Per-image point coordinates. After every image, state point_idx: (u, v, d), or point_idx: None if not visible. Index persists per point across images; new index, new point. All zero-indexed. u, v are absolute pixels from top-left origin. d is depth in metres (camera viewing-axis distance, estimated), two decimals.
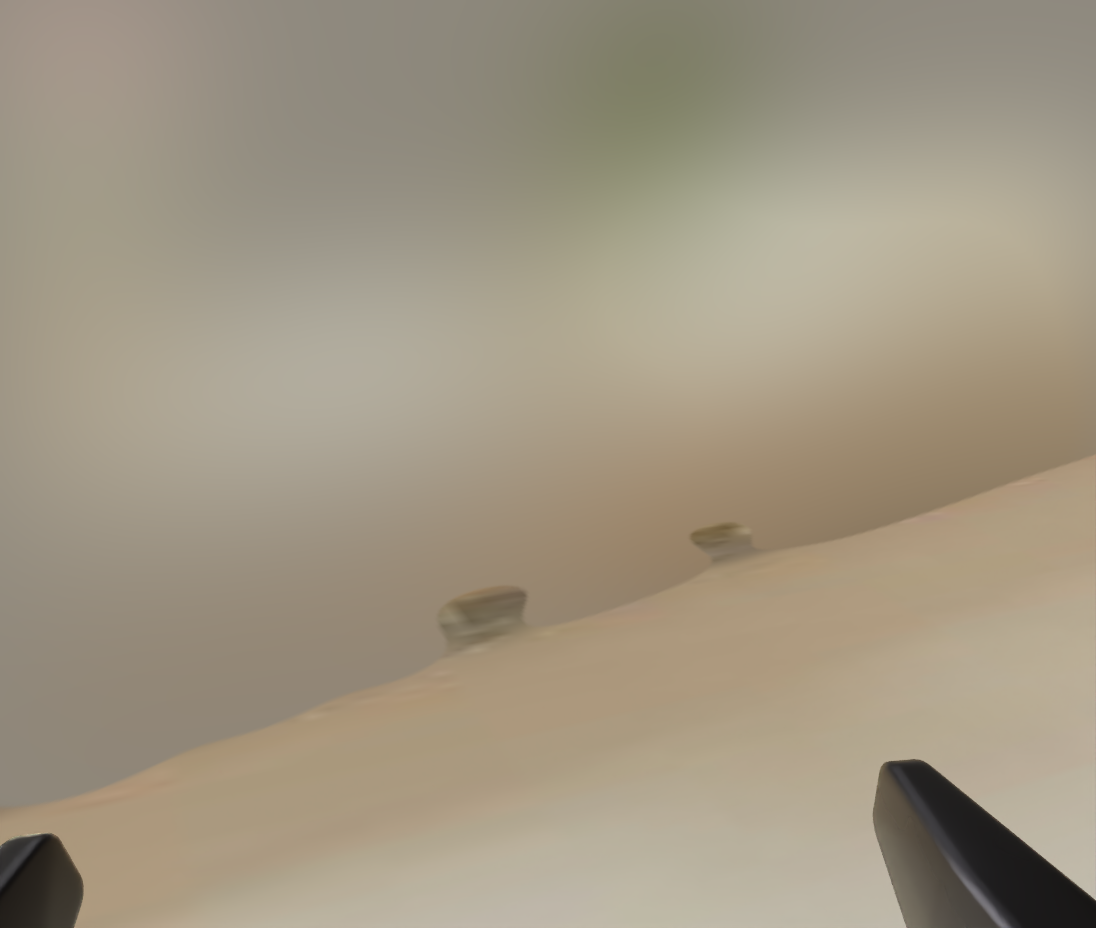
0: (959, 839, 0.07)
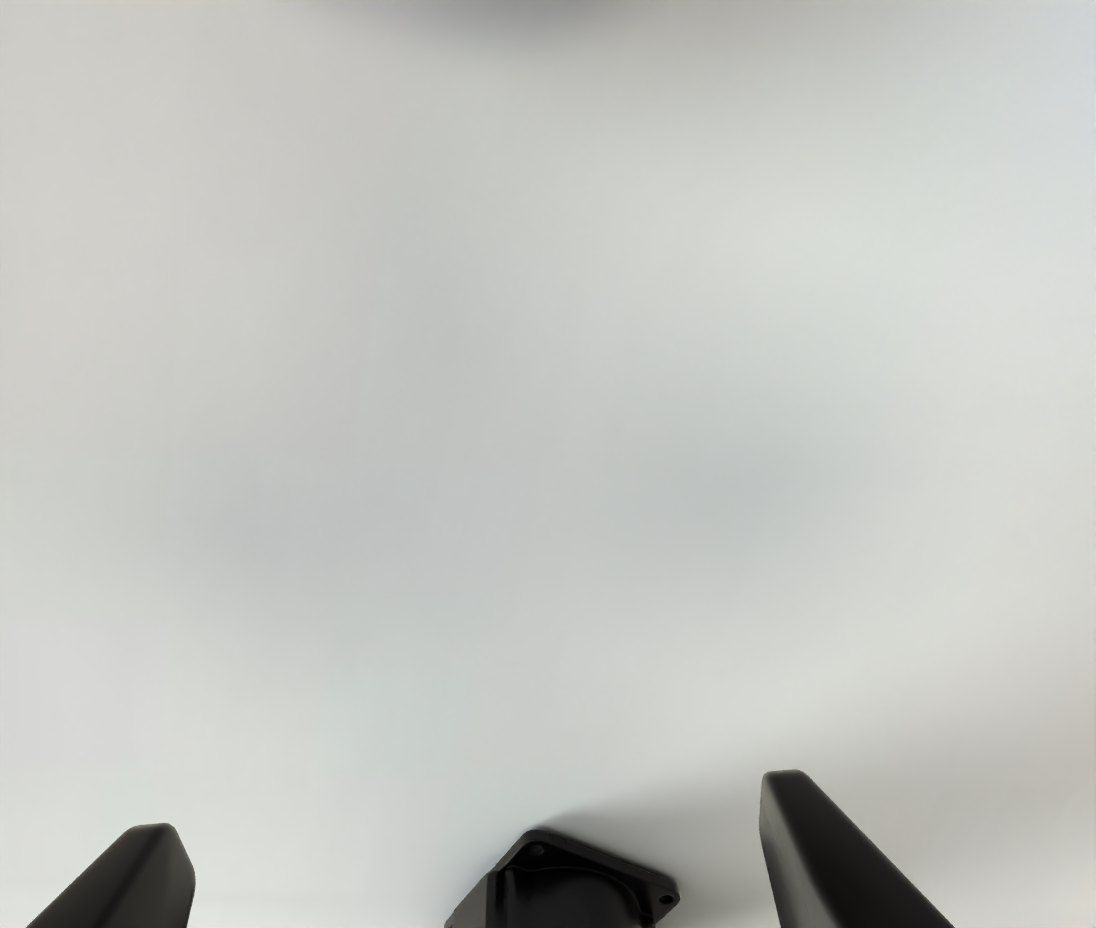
0: (820, 851, 0.07)
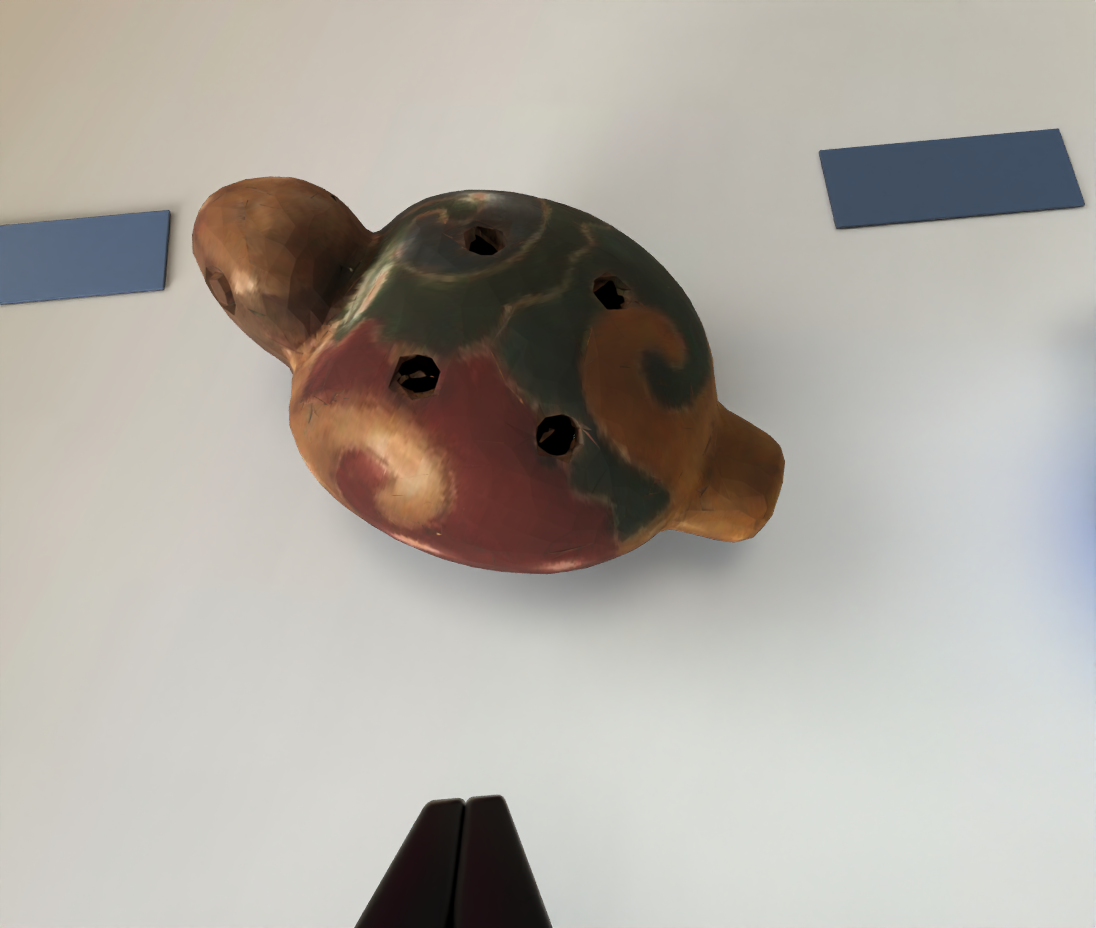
0: (475, 880, 0.07)
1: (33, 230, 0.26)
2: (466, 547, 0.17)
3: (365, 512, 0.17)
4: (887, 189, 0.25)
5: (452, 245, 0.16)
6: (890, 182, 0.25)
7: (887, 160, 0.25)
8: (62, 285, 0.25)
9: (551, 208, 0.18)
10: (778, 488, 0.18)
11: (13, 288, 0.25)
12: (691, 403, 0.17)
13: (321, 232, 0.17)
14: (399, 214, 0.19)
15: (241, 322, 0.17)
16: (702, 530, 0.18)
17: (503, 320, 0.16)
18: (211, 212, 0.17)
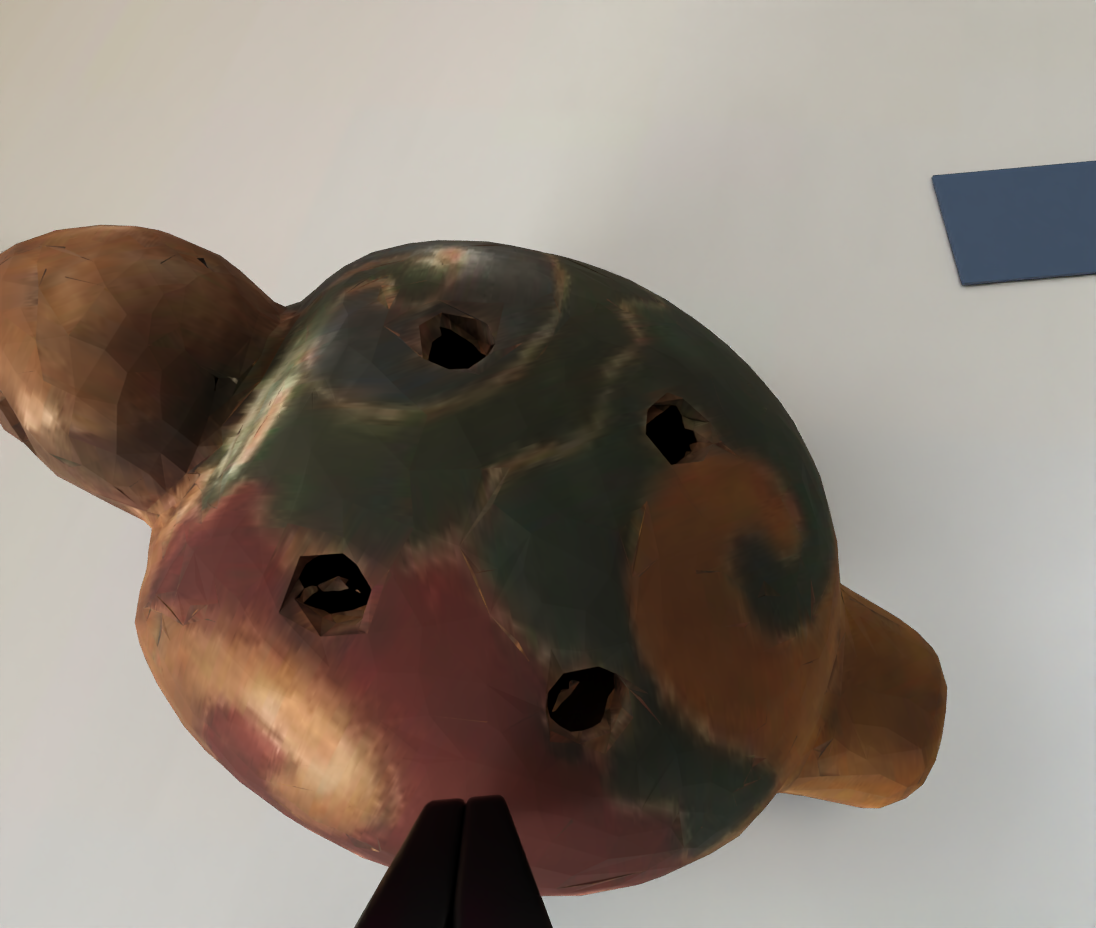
0: (475, 880, 0.07)
1: None
2: None
3: (255, 792, 0.10)
4: (1029, 231, 0.18)
5: (399, 349, 0.09)
6: (1033, 220, 0.18)
7: (1027, 188, 0.18)
8: None
9: (569, 275, 0.11)
10: (941, 731, 0.11)
11: None
12: (813, 617, 0.10)
13: (177, 323, 0.10)
14: (328, 278, 0.12)
15: (50, 468, 0.10)
16: (814, 796, 0.11)
17: (486, 494, 0.09)
18: None
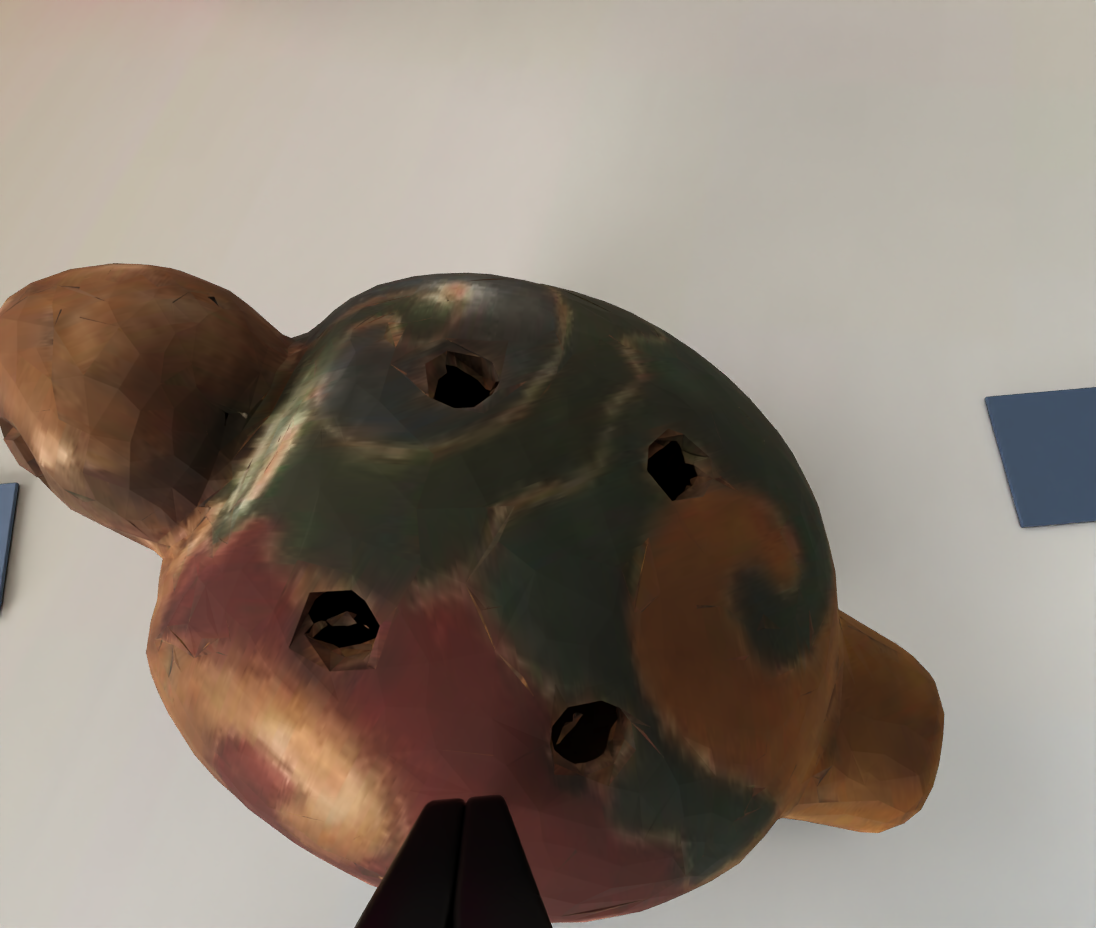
0: (475, 880, 0.07)
1: None
2: None
3: (264, 819, 0.10)
4: (1093, 462, 0.17)
5: (406, 387, 0.10)
6: None
7: (1088, 412, 0.17)
8: None
9: (571, 311, 0.11)
10: (938, 757, 0.11)
11: None
12: (810, 648, 0.10)
13: (188, 362, 0.10)
14: (335, 310, 0.13)
15: None
16: (814, 821, 0.11)
17: (492, 532, 0.09)
18: (3, 328, 0.10)
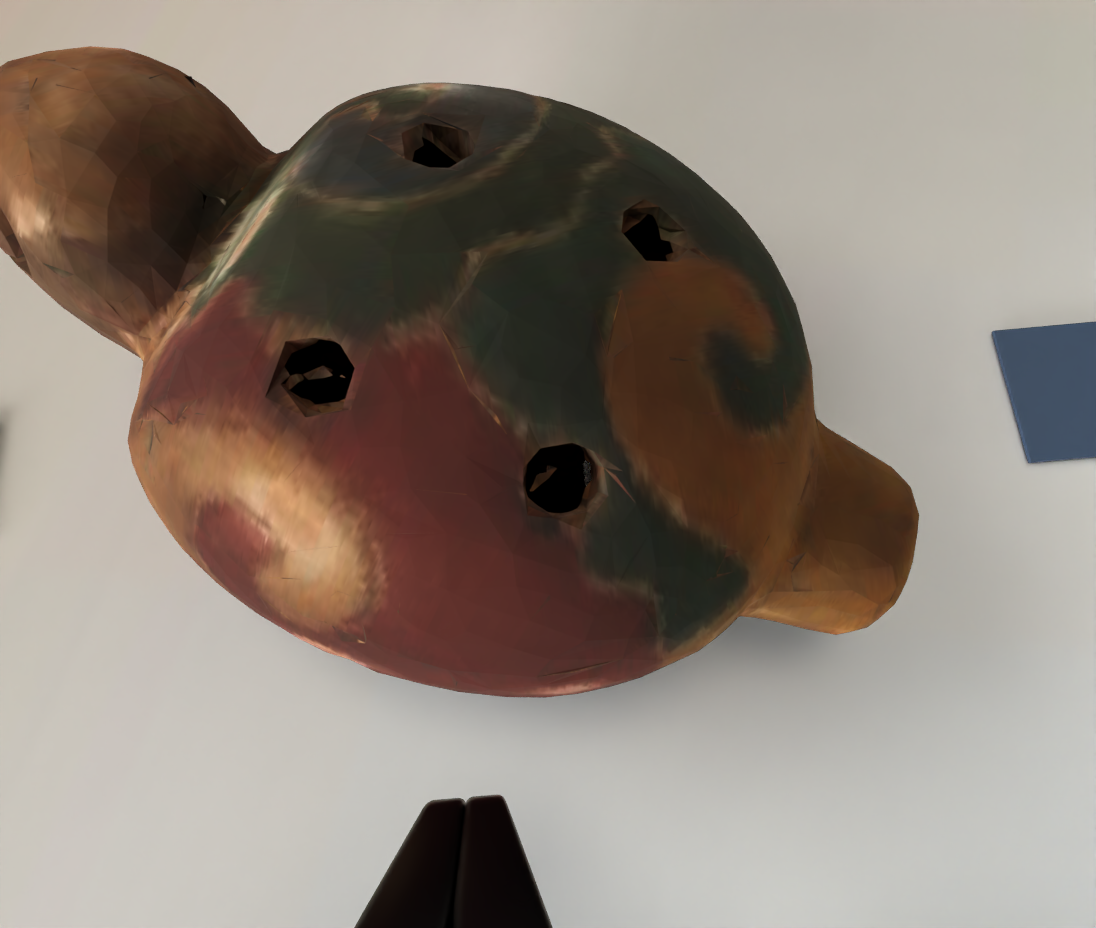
0: (475, 880, 0.07)
1: None
2: (408, 662, 0.10)
3: (246, 599, 0.11)
4: None
5: (382, 152, 0.10)
6: None
7: None
8: None
9: (550, 104, 0.11)
10: (912, 553, 0.11)
11: None
12: (784, 420, 0.10)
13: (166, 135, 0.10)
14: None
15: (44, 287, 0.11)
16: (790, 619, 0.12)
17: (465, 276, 0.09)
18: None
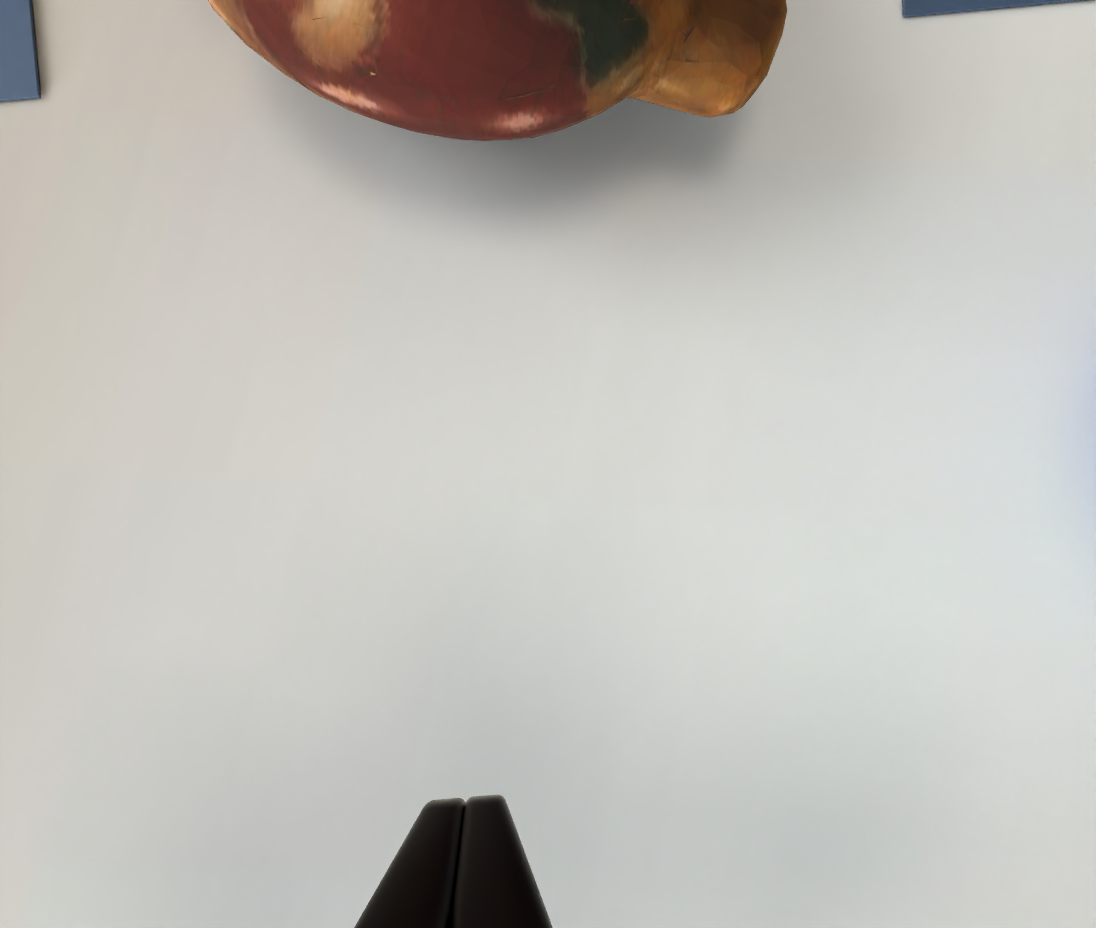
0: (475, 880, 0.07)
1: None
2: (406, 91, 0.14)
3: (284, 54, 0.14)
4: None
5: None
6: None
7: None
8: None
9: None
10: (776, 37, 0.15)
11: None
12: None
13: None
14: None
15: None
16: (685, 94, 0.16)
17: None
18: None
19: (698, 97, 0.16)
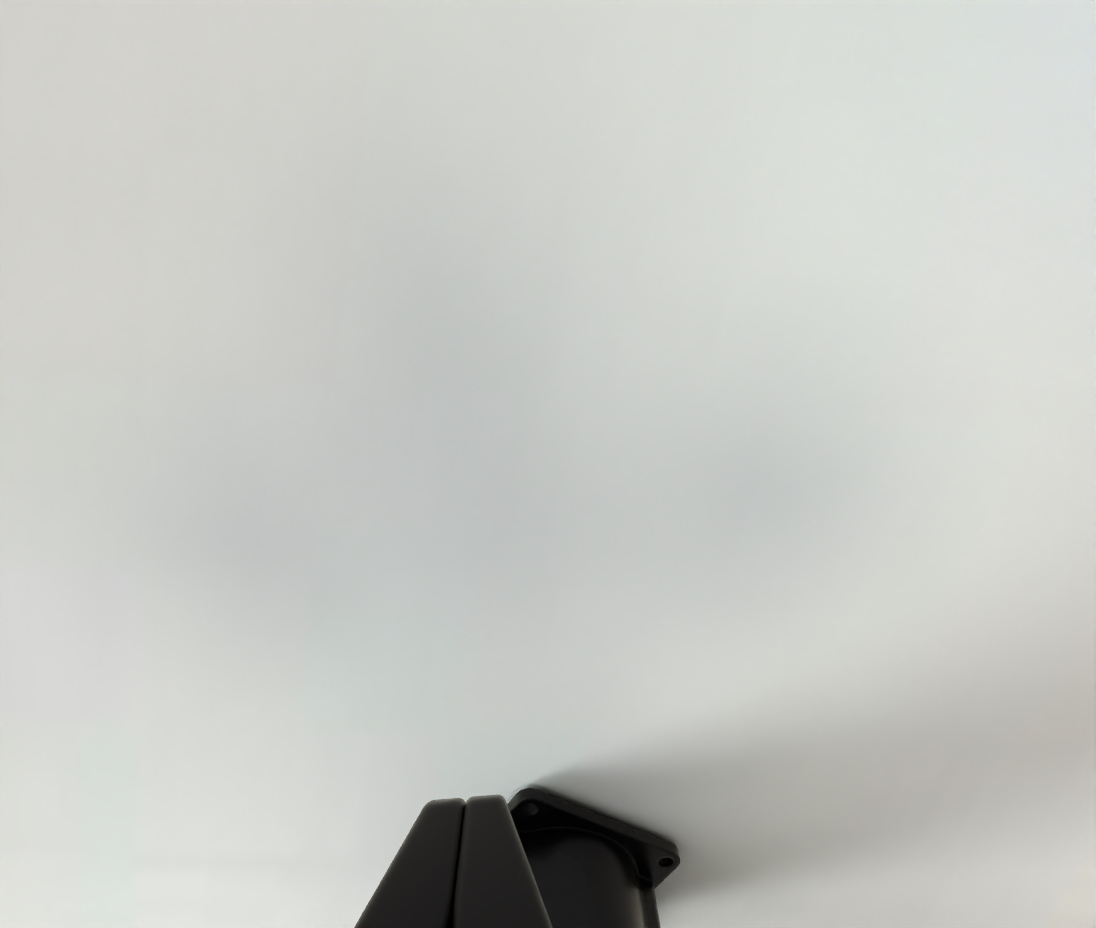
0: (474, 880, 0.07)
1: None
2: None
3: None
4: None
5: None
6: None
7: None
8: None
9: None
10: None
11: None
12: None
13: None
14: None
15: None
16: None
17: None
18: None
19: None
